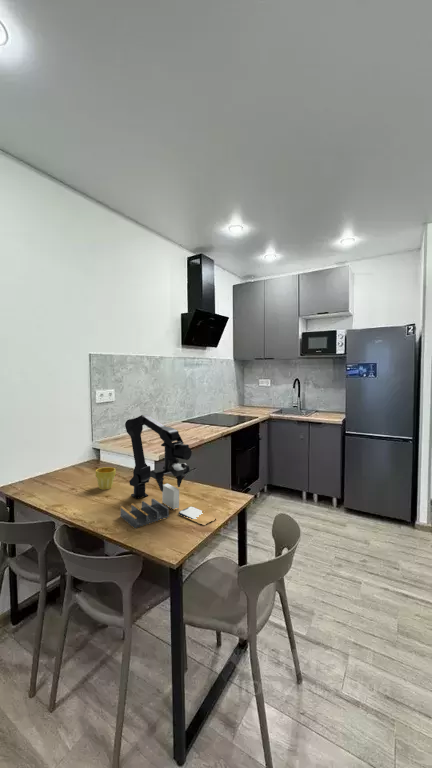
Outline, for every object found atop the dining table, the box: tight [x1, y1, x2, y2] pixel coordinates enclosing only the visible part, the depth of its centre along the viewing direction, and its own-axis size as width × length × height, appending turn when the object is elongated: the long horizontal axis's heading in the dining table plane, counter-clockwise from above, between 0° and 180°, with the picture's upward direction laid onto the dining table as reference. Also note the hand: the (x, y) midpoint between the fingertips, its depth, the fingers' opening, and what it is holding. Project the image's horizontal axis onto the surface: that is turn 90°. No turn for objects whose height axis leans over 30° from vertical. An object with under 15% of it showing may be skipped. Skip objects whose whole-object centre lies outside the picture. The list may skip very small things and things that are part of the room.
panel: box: [161, 483, 180, 510], centre depth 151 cm, size 10×3×9 cm, turn 40°
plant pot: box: [95, 466, 117, 491], centre depth 173 cm, size 10×10×10 cm
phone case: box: [178, 506, 203, 519], centre depth 140 cm, size 9×2×16 cm
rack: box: [119, 498, 170, 529], centre depth 139 cm, size 14×16×4 cm
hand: (170, 489), depth 151 cm, fingers open, 9 cm apart
